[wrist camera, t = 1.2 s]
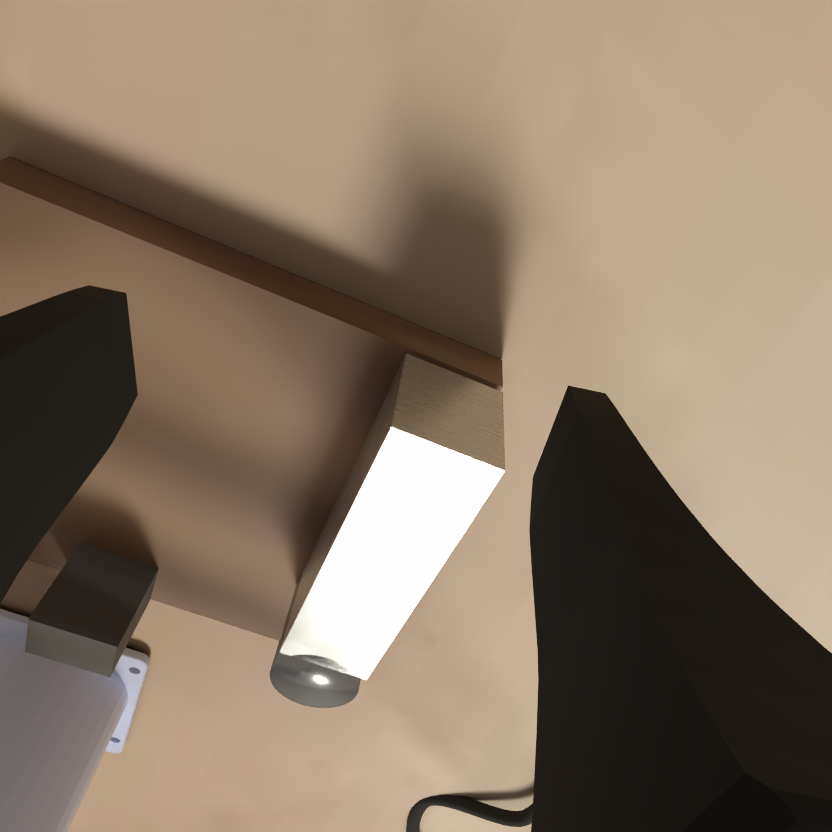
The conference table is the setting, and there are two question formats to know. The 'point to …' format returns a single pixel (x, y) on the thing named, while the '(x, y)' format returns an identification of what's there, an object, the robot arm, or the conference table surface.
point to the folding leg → (390, 529)
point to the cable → (469, 811)
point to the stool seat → (200, 418)
